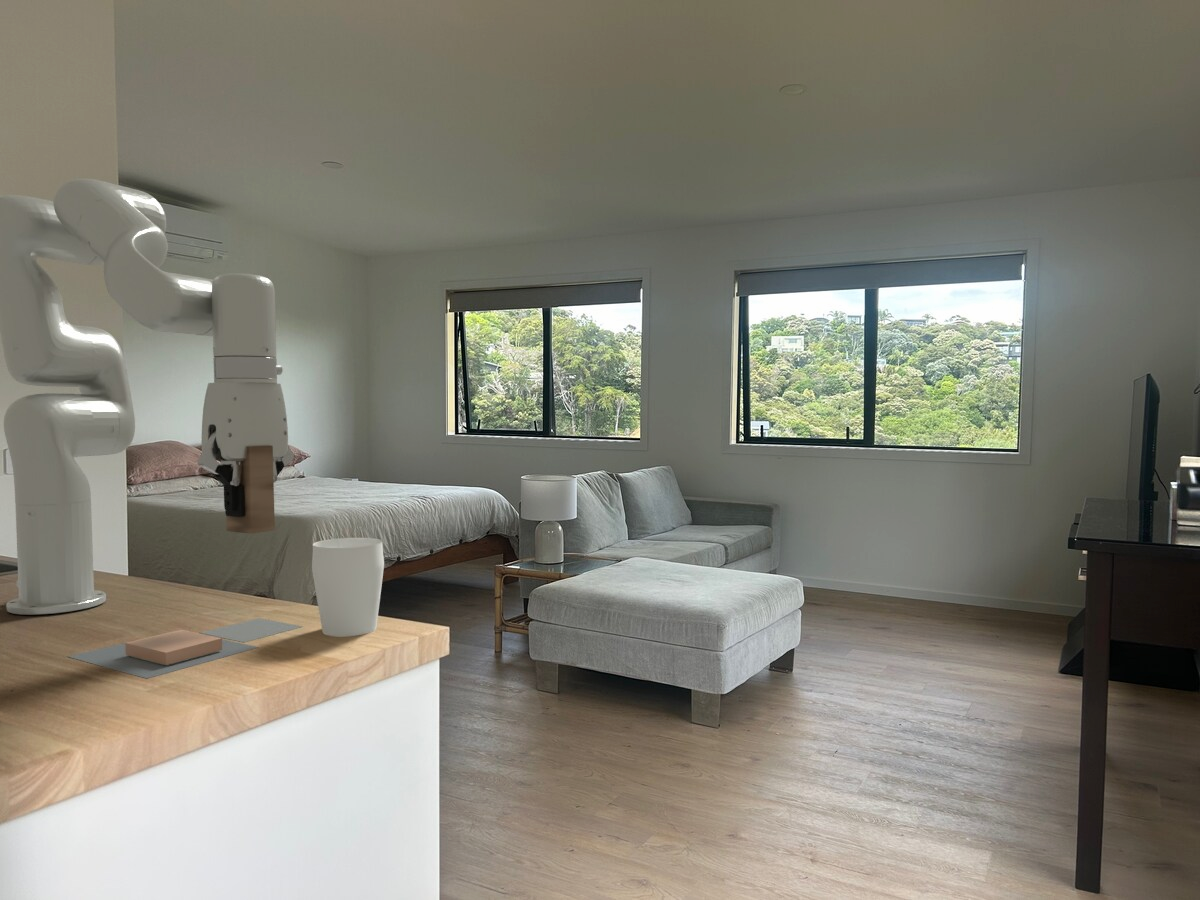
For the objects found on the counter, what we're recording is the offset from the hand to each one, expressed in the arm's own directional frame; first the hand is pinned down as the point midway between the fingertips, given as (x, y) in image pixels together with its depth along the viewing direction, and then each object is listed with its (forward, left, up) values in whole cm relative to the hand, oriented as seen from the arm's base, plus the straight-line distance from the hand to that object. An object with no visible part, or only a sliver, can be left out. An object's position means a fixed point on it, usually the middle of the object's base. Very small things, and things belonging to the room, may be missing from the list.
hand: (249, 513), depth 113 cm
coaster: (0, 0, -16) cm, 16 cm away
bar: (0, 0, -2) cm, 2 cm away
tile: (-2, -12, -14) cm, 19 cm away
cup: (+11, +6, -16) cm, 21 cm away
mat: (0, -12, -16) cm, 20 cm away
